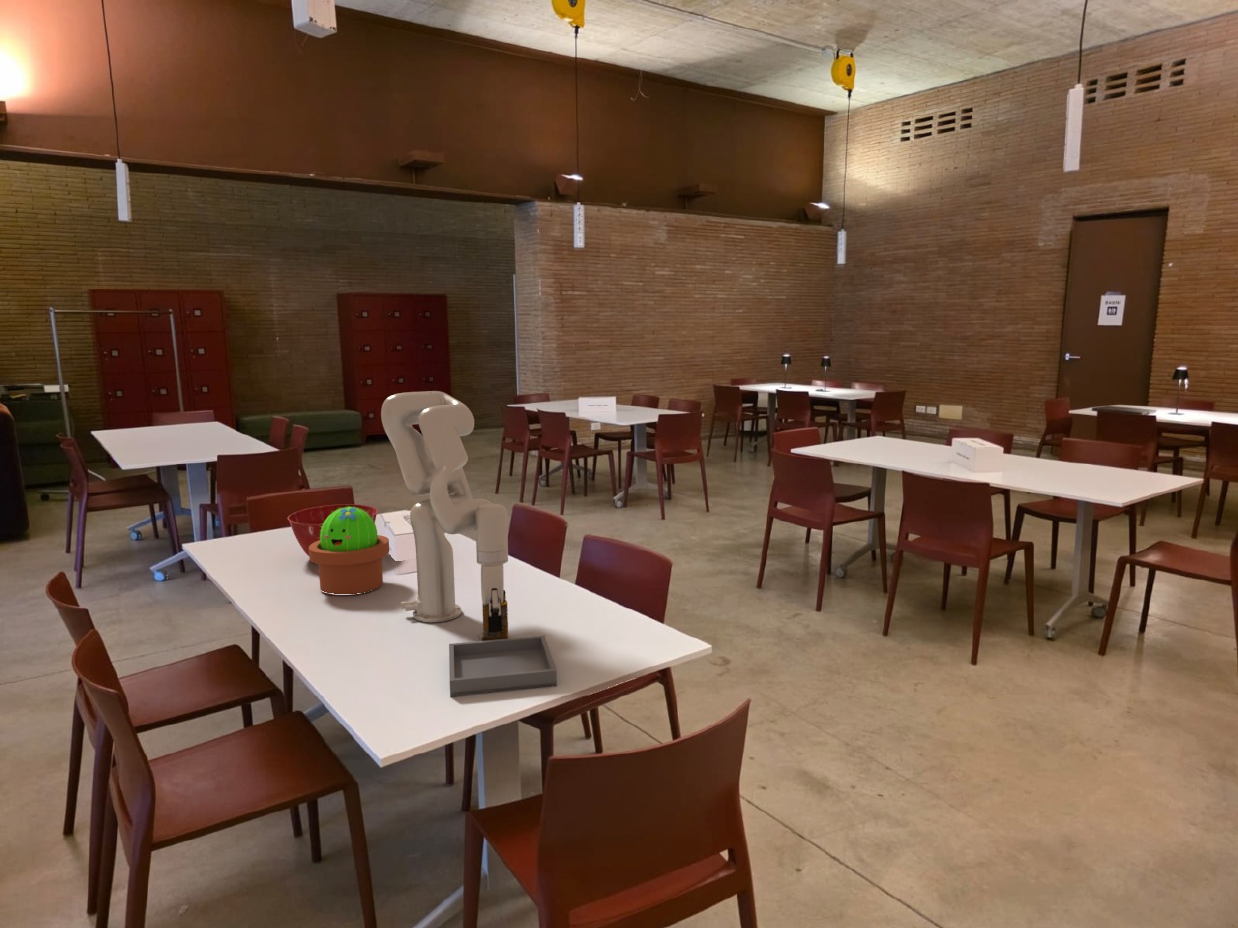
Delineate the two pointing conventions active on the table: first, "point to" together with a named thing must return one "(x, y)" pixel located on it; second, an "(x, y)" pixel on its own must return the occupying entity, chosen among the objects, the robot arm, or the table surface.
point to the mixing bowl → (318, 522)
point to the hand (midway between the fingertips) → (494, 625)
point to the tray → (500, 666)
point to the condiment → (504, 633)
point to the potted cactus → (349, 552)
